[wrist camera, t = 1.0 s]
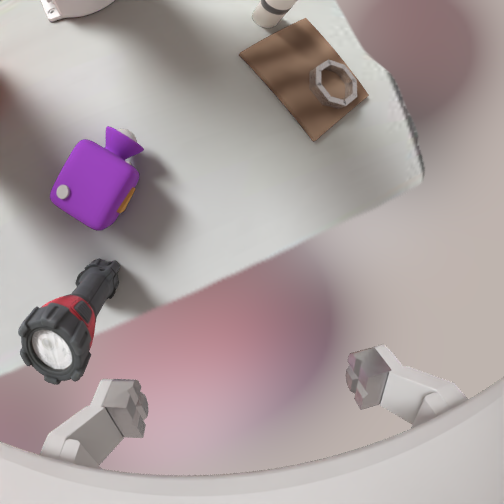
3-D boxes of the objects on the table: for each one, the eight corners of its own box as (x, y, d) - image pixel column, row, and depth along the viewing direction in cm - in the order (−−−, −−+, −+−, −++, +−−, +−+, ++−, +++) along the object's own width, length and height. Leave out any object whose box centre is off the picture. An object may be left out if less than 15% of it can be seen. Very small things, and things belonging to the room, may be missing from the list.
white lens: (246, 14, 38) (264, -16, 29) (265, 5, 39) (286, -23, 29) (264, 31, 40) (286, 4, 31) (283, 22, 40) (307, -4, 31)
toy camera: (156, 145, 40) (154, 132, 30) (124, 229, 41) (113, 240, 32) (95, 124, 36) (78, 107, 27) (64, 207, 37) (39, 212, 28)
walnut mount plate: (238, 54, 40) (240, 52, 39) (303, 20, 41) (305, 17, 40) (312, 141, 47) (315, 140, 46) (365, 96, 48) (368, 95, 47)
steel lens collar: (300, 77, 43) (306, 73, 40) (329, 58, 43) (336, 54, 41) (330, 115, 46) (337, 112, 43) (356, 94, 46) (364, 91, 44)
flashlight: (74, 299, 40) (21, 378, 19) (77, 253, 39) (11, 306, 18) (117, 306, 43) (90, 395, 21) (122, 261, 42) (87, 324, 20)
